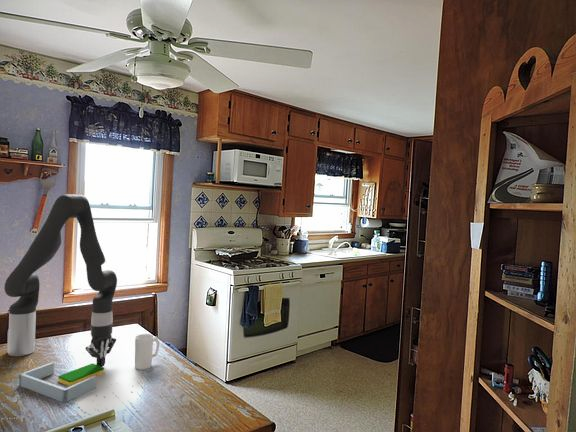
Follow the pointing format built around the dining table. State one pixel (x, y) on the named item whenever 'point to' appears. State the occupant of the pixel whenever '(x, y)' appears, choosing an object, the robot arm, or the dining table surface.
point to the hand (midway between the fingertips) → (100, 366)
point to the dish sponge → (80, 374)
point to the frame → (56, 392)
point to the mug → (145, 350)
